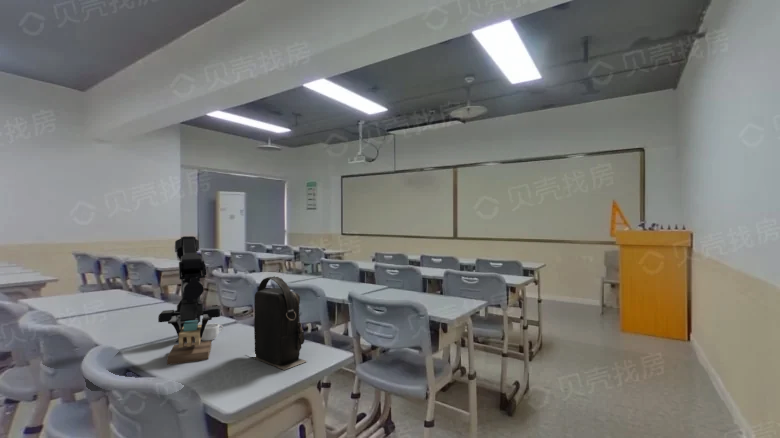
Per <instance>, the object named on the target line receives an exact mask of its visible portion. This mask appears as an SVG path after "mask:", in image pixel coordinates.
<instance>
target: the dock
mask: <svg viewBox="0 0 780 438" xmlns="http://www.w3.org/2000/svg"><path fill="white" fill-rule="evenodd" d="M211 351H212V340H210V341H200V344H199V345H198V346H195V342H193V343H192V345H191V346H190V347H187V342H185V344H184V346H183V347H181V348H179V343H178V344H173V346H172V348H171V350H170V351H169V353H168V355H167V357H166V358H167V359H166V360H167V361H166V364H167V365H174V364H182V363H189V362H197V361H198V362H199V361H206V360H209V357H210V354H211Z"/></svg>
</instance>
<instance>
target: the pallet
mask: <svg viewBox="0 0 780 438" xmlns="http://www.w3.org/2000/svg"><path fill="white" fill-rule="evenodd" d="M201 326H202V324H198V328H197V330H193V331H184V326H183V328H182V330H181V331H180V333H179V342H178V344H179V348H181V347H183V346H184V344H186V343H187V347H190V346H191V345H192V343H195V346H198V345H199V344H200V342H202V340H201V338H200V332H201ZM194 338H195V340H194ZM186 340H187V341H186Z"/></svg>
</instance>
